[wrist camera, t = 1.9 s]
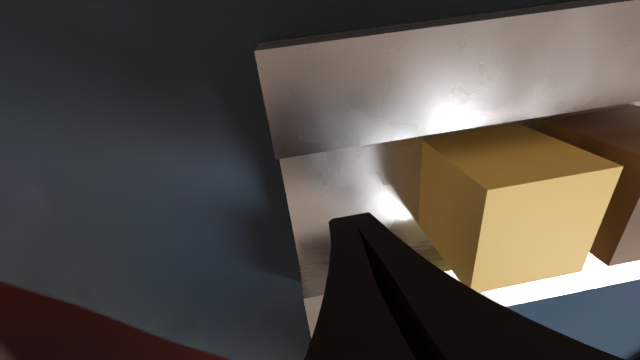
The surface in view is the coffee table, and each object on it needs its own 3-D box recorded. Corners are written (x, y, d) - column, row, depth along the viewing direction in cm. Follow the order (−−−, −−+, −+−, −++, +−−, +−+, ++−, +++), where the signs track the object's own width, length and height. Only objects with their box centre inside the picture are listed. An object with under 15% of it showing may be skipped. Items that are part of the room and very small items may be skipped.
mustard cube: (502, 208, 14) (580, 271, 10) (418, 223, 14) (469, 294, 10) (519, 123, 12) (623, 166, 8) (422, 139, 12) (487, 190, 8)
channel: (593, 228, 18) (664, 273, 14) (304, 284, 16) (312, 346, 13) (688, -14, 12) (838, -27, 9) (259, 42, 11) (254, 51, 8)
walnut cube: (603, 190, 14) (712, 245, 11) (523, 204, 14) (608, 266, 10) (635, 105, 12) (781, 138, 9) (543, 120, 12) (656, 160, 8)
